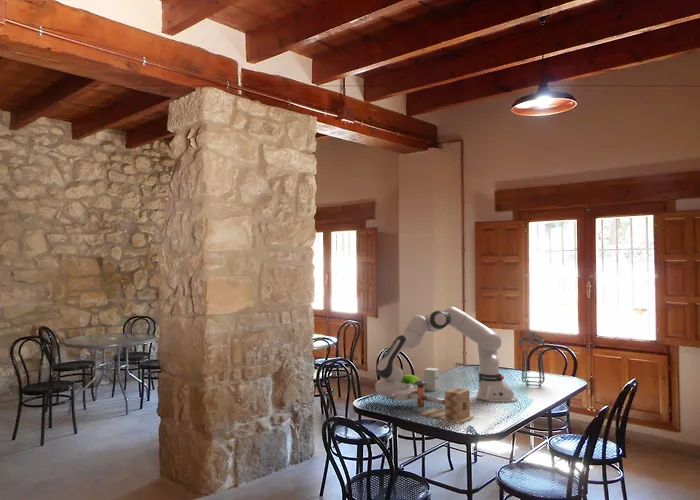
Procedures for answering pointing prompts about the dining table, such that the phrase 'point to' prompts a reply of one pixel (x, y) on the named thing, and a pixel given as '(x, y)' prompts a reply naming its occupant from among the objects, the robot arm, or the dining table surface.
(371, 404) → the dining table surface
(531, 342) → the geometric lantern
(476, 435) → the dining table surface
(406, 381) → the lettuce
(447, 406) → the light wood block structure
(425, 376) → the supplement box
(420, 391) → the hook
